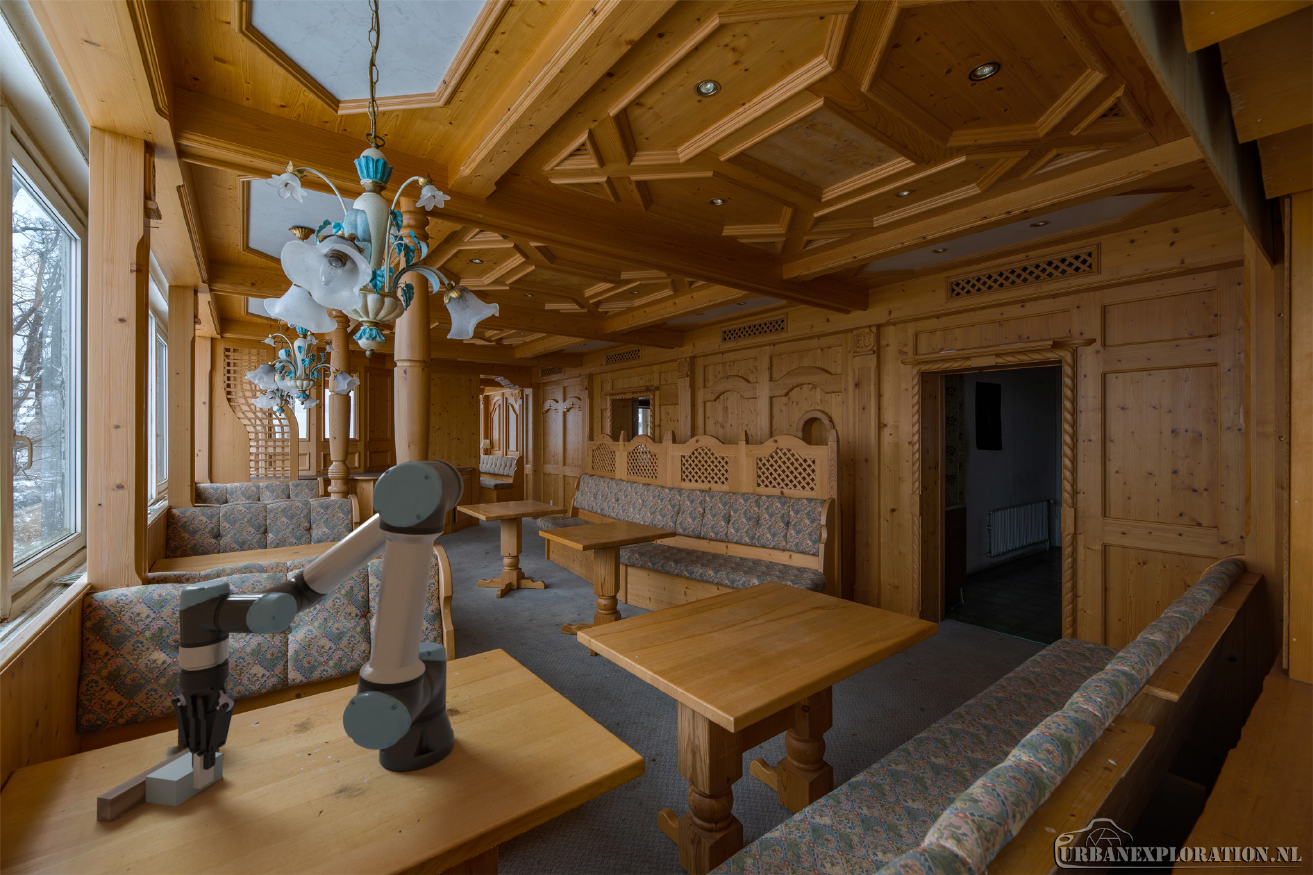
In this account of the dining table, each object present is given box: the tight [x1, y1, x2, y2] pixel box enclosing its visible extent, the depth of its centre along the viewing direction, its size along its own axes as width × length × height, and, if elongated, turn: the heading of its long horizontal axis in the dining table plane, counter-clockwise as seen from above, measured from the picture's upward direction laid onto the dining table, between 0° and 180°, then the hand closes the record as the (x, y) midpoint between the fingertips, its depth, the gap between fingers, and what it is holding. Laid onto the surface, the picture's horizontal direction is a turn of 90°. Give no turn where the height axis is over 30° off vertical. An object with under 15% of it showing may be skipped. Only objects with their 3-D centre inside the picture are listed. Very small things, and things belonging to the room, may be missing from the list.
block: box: [144, 752, 224, 807], centre depth 106 cm, size 7×9×5 cm
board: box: [96, 748, 220, 823], centre depth 107 cm, size 3×20×4 cm, turn 170°
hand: (203, 783), depth 105 cm, fingers closed
